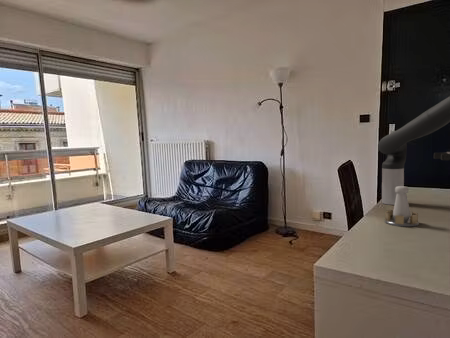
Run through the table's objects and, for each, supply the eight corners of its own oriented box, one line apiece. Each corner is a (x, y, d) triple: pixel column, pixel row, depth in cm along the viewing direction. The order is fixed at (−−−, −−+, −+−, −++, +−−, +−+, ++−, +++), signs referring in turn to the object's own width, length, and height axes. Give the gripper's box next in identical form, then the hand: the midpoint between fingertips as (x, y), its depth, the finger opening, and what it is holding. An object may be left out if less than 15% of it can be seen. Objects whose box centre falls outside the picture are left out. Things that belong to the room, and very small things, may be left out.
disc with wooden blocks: (387, 218, 120) (387, 208, 120) (419, 221, 113) (419, 211, 113) (382, 224, 111) (382, 214, 111) (417, 228, 105) (417, 217, 104)
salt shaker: (412, 220, 112) (412, 186, 111) (408, 223, 108) (409, 188, 107) (394, 218, 116) (395, 185, 115) (390, 221, 112) (391, 186, 111)
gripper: (485, 144, 107) (431, 145, 113) (506, 144, 94) (444, 146, 100) (484, 165, 108) (431, 165, 114) (505, 168, 95) (443, 168, 100)
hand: (437, 156), depth 107 cm, fingers open, 8 cm apart
